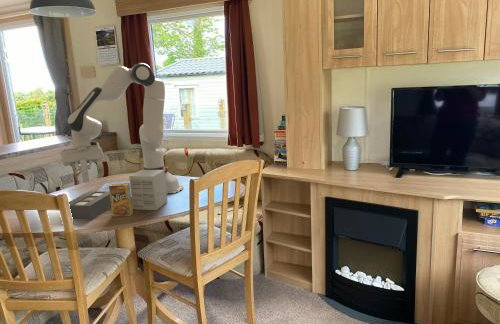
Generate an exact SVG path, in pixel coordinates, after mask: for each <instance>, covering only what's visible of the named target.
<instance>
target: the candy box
mask: <svg viewBox="0 0 500 324" xmlns="http://www.w3.org/2000/svg"><path fill="white" fill-rule="evenodd" d="M108 192H110V200H111V208H110V209H111V215H112V216H111V217H131V216H132V215H133V210H134V209H133V205H132V196H131V188H130V182H129V183H111V184H110V185H108Z"/></svg>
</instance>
